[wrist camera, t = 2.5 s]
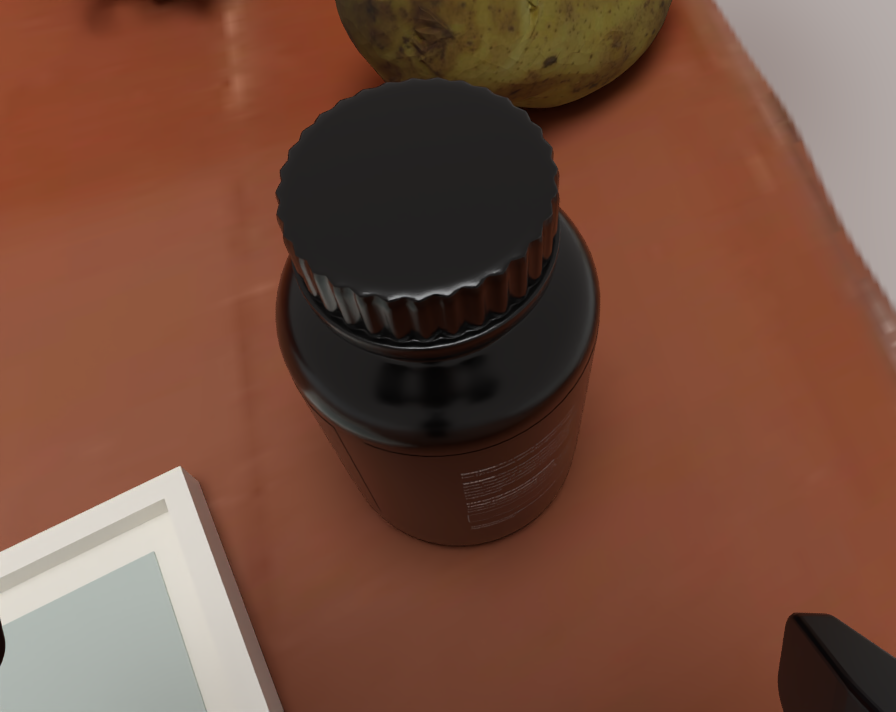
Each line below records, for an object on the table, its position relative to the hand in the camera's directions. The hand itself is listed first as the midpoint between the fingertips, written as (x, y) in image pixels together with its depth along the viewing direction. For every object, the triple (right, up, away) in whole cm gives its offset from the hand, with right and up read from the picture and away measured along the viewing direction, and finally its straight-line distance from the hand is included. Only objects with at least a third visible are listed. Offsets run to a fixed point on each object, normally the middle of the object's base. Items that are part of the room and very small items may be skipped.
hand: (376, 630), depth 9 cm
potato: (+4, +14, +21) cm, 26 cm away
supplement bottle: (+1, +1, +15) cm, 15 cm away
